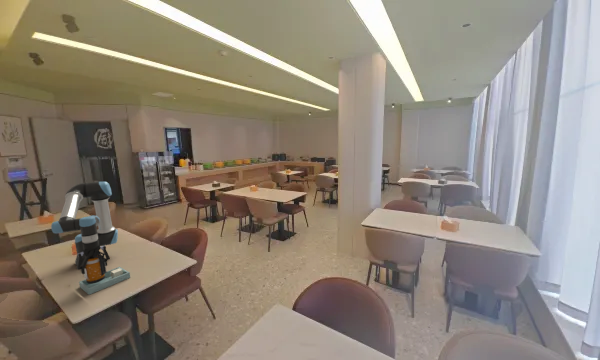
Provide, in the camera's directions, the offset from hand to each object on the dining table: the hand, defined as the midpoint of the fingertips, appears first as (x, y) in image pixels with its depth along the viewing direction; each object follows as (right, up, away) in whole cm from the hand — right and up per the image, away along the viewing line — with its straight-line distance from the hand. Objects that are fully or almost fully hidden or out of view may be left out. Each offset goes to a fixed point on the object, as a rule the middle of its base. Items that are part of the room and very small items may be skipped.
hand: (95, 274), depth 149 cm
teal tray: (+3, -8, +5) cm, 10 cm away
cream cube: (+6, -6, +10) cm, 13 cm away
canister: (0, -5, +1) cm, 5 cm away
